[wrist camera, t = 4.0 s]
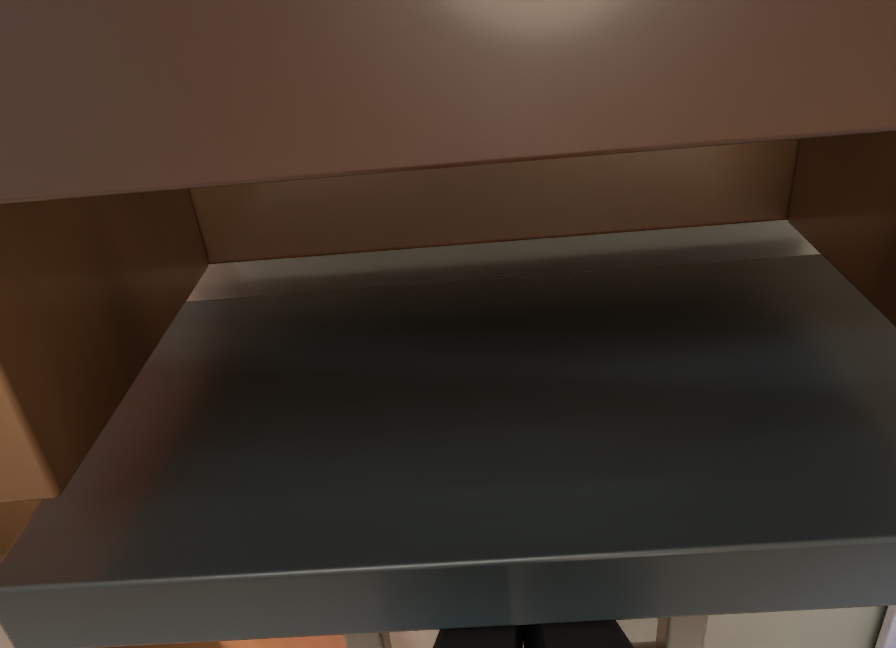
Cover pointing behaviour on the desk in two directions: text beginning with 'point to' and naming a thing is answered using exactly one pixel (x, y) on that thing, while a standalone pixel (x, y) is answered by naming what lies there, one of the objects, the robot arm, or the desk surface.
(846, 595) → the drawer
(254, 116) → the cabinet
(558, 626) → the robot arm
